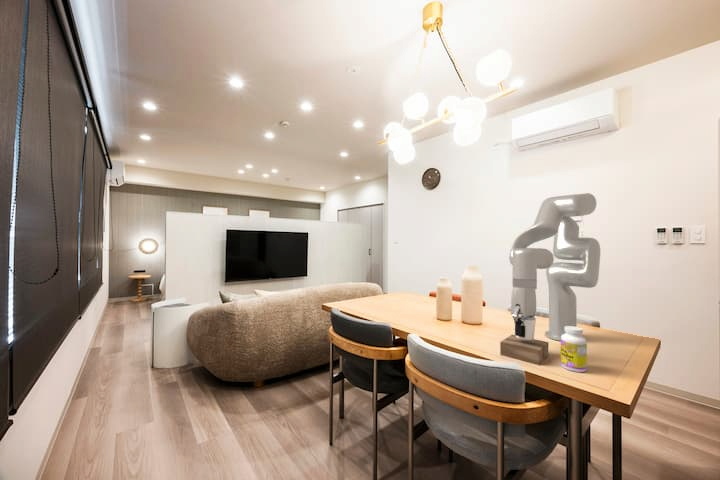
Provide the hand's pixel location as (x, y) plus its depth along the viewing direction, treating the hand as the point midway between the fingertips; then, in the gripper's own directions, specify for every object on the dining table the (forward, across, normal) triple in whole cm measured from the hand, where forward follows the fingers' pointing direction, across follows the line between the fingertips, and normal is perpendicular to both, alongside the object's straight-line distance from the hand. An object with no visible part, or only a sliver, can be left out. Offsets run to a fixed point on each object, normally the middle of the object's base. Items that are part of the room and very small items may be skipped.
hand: (524, 333), depth 103 cm
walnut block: (+8, 0, 0) cm, 8 cm away
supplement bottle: (+8, -1, +14) cm, 16 cm away
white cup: (+1, 0, 0) cm, 1 cm away
